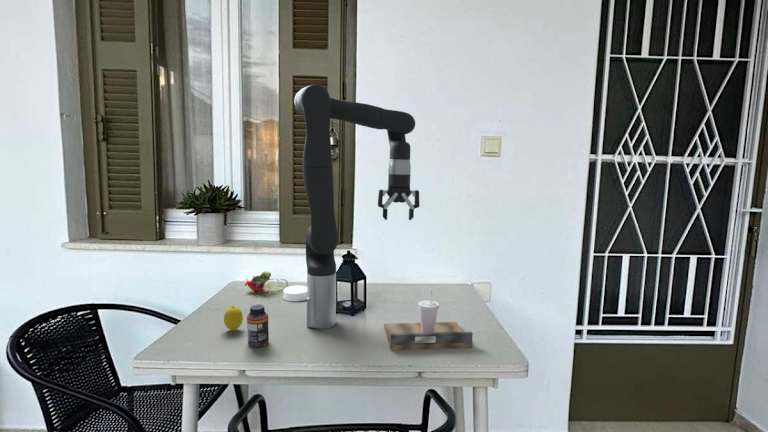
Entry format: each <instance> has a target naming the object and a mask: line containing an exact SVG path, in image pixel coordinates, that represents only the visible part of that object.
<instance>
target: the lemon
mask: <svg viewBox="0 0 768 432" xmlns="http://www.w3.org/2000/svg"><path fill="white" fill-rule="evenodd" d="M243 318H244V317H243V312H242V310H241V309H240V308H239V307H237V306H235V305H231V306H230V307H228V308H227V309H226V310H225V312H224V314H223V323H224V326H225V327H226V329H228V330H231V331H233V332H235V331H236V330H237V329H238V328H240V327H241V326H242V325H243V320H244V319H243Z"/></svg>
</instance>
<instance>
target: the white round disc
mask: <svg viewBox="0 0 768 432" xmlns="http://www.w3.org/2000/svg"><path fill="white" fill-rule="evenodd" d="M282 295H283V299H284V300H285V301H287V302H295V303H296V302H303V301H307V286H304V285H290V286H287V287H285V288H283V293H282Z"/></svg>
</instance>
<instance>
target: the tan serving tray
mask: <svg viewBox="0 0 768 432" xmlns="http://www.w3.org/2000/svg"><path fill="white" fill-rule="evenodd" d="M383 329H384V333H385V336H386V340H387V342H388V346H389V349H390V351H411V350H441V349H442V350H447V349H472V348H473V332H472V331H464V330H463V329H462V327H461V326H460V325H459V323H458V322H457V321H449V322H447V321H446V322H445V321H444V322H443V321H441V322H440V321H439V322H436V323H435V329H434V333H421V323H420V322H404V323H403V322H401V323H399V322H398V323H383Z"/></svg>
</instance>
